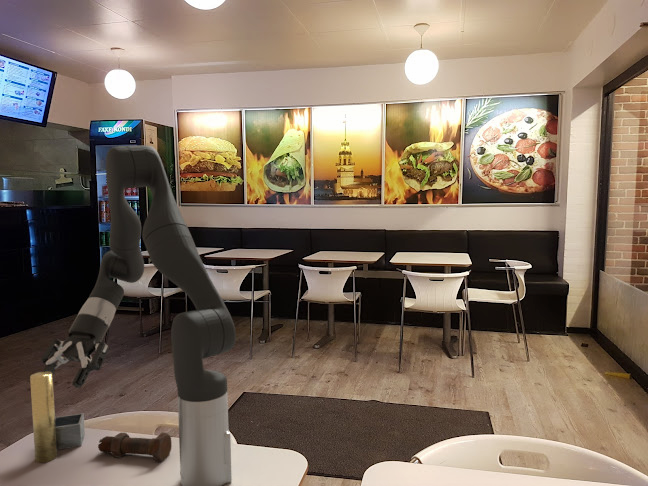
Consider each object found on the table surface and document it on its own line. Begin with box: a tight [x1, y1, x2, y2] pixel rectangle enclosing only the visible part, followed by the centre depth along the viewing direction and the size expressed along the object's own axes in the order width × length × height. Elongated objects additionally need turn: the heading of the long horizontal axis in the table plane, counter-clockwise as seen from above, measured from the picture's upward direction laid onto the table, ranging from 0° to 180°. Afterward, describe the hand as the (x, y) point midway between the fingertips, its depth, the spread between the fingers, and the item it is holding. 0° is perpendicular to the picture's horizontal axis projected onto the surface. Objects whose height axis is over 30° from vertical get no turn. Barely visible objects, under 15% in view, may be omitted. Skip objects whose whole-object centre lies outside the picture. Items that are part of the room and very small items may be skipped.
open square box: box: [55, 412, 86, 451], centre depth 108 cm, size 6×6×5 cm
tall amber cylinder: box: [29, 371, 58, 464], centre depth 101 cm, size 4×4×18 cm
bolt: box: [97, 431, 172, 463], centre depth 102 cm, size 6×5×15 cm
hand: (59, 384), depth 105 cm, fingers open, 8 cm apart
